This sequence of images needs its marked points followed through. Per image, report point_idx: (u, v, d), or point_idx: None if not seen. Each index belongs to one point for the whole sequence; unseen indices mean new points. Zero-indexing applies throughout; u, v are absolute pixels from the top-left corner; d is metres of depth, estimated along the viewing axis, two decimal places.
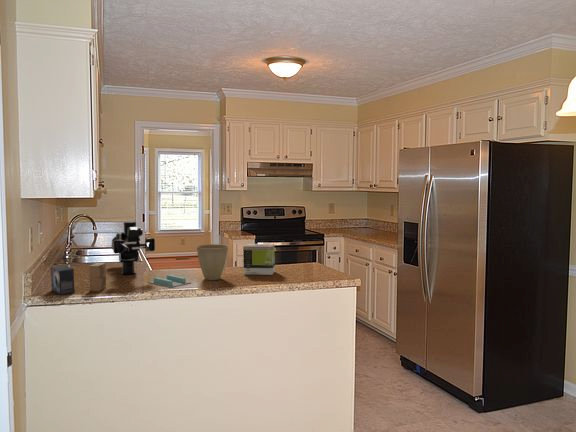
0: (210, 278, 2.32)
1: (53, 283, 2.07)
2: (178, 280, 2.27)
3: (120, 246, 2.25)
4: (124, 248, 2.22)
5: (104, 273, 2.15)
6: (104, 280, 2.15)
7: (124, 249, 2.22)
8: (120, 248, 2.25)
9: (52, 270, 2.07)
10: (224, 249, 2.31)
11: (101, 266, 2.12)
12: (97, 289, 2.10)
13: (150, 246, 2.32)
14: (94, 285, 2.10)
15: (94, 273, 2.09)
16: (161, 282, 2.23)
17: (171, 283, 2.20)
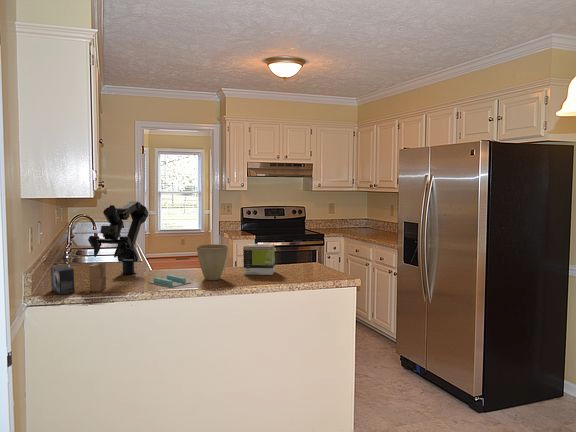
0: (210, 278, 2.32)
1: (53, 283, 2.07)
2: (178, 280, 2.27)
3: None
4: None
5: (104, 273, 2.15)
6: (104, 280, 2.15)
7: None
8: None
9: (52, 270, 2.07)
10: (224, 249, 2.31)
11: (101, 266, 2.12)
12: (97, 289, 2.10)
13: (124, 246, 2.23)
14: (94, 285, 2.10)
15: (94, 273, 2.09)
16: (161, 282, 2.23)
17: (171, 283, 2.20)
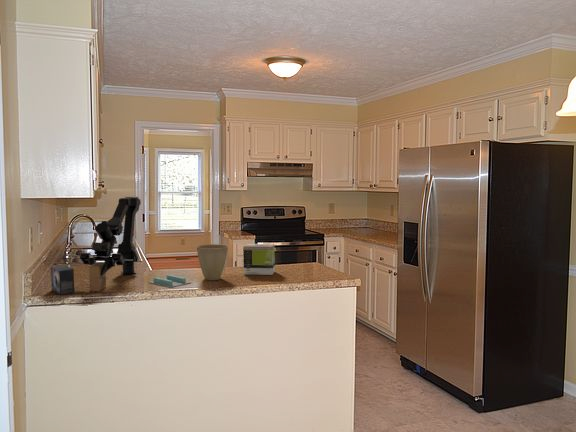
0: (210, 278, 2.32)
1: (53, 283, 2.07)
2: (178, 280, 2.27)
3: None
4: None
5: (104, 273, 2.15)
6: (104, 280, 2.15)
7: None
8: None
9: (52, 270, 2.07)
10: (224, 249, 2.31)
11: (101, 266, 2.12)
12: (97, 289, 2.10)
13: (111, 263, 2.16)
14: (94, 285, 2.10)
15: (94, 273, 2.09)
16: (161, 282, 2.23)
17: (171, 283, 2.20)
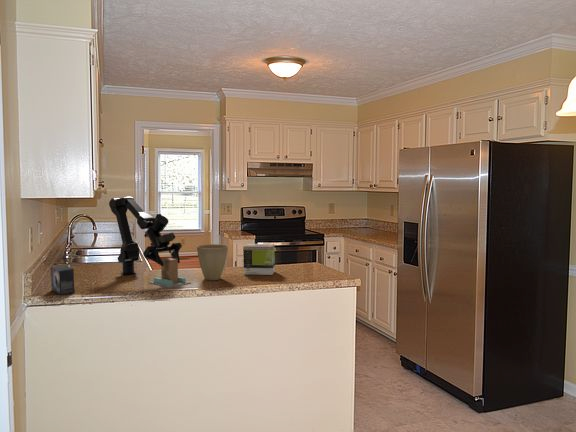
0: (210, 278, 2.32)
1: (53, 283, 2.07)
2: (178, 280, 2.27)
3: (153, 254, 2.22)
4: (158, 261, 2.21)
5: None
6: None
7: (158, 262, 2.22)
8: (152, 256, 2.22)
9: (52, 270, 2.07)
10: (224, 249, 2.31)
11: None
12: (176, 281, 2.25)
13: None
14: (174, 277, 2.24)
15: (174, 266, 2.24)
16: (161, 282, 2.23)
17: (171, 283, 2.20)
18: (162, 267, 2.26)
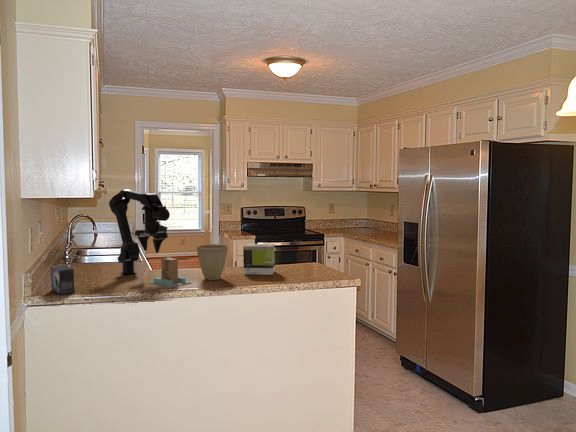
0: (210, 278, 2.32)
1: (53, 283, 2.07)
2: (178, 280, 2.27)
3: (159, 239, 2.31)
4: (157, 247, 2.31)
5: None
6: None
7: (157, 248, 2.31)
8: (158, 239, 2.30)
9: (52, 270, 2.07)
10: (224, 249, 2.31)
11: None
12: (176, 281, 2.25)
13: None
14: (174, 277, 2.24)
15: (174, 266, 2.24)
16: (161, 282, 2.23)
17: (171, 283, 2.20)
18: (162, 267, 2.26)
